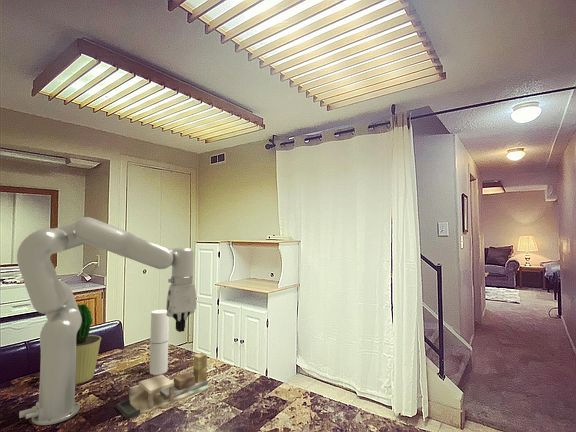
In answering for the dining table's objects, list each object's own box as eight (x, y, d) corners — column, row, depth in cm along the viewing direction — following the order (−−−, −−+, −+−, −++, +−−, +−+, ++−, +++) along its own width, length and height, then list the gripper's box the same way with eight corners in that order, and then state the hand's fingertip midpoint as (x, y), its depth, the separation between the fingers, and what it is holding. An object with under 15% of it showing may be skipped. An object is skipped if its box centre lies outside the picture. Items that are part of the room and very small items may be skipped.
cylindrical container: (155, 376, 135) (157, 314, 136) (146, 371, 139) (147, 311, 141) (170, 370, 141) (172, 311, 142) (161, 366, 145) (163, 308, 146)
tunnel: (127, 419, 104) (127, 398, 104) (116, 408, 110) (117, 388, 111) (210, 388, 125) (210, 370, 125) (196, 380, 132) (197, 363, 132)
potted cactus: (108, 371, 140) (110, 299, 141) (81, 388, 124) (85, 307, 126) (74, 369, 141) (77, 298, 143) (44, 385, 126) (47, 306, 128)
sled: (166, 398, 115) (167, 367, 116) (159, 393, 119) (160, 363, 119) (208, 383, 127) (208, 355, 127) (200, 379, 131) (201, 351, 131)
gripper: (167, 283, 115) (165, 337, 114) (205, 280, 126) (203, 329, 125) (158, 281, 121) (155, 332, 120) (194, 278, 131) (193, 325, 130)
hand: (180, 330), depth 122 cm, fingers closed
